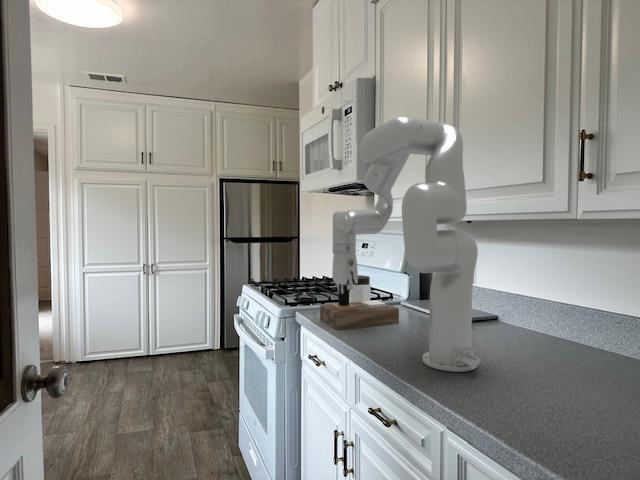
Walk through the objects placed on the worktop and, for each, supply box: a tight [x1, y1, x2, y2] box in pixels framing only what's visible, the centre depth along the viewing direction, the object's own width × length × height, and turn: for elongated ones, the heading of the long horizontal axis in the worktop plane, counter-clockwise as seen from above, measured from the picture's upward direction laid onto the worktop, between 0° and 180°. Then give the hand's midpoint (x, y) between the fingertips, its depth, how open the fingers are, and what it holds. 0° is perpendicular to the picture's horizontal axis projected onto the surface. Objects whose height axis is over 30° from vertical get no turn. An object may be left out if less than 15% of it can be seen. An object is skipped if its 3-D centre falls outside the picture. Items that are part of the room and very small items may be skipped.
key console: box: [319, 301, 400, 331], centre depth 141 cm, size 14×22×5 cm, turn 113°
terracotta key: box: [332, 303, 356, 311], centre depth 139 cm, size 6×6×4 cm
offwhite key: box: [361, 300, 387, 308], centre depth 143 cm, size 6×6×4 cm
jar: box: [347, 274, 372, 303], centre depth 163 cm, size 9×8×12 cm
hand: (343, 305), depth 139 cm, fingers closed
